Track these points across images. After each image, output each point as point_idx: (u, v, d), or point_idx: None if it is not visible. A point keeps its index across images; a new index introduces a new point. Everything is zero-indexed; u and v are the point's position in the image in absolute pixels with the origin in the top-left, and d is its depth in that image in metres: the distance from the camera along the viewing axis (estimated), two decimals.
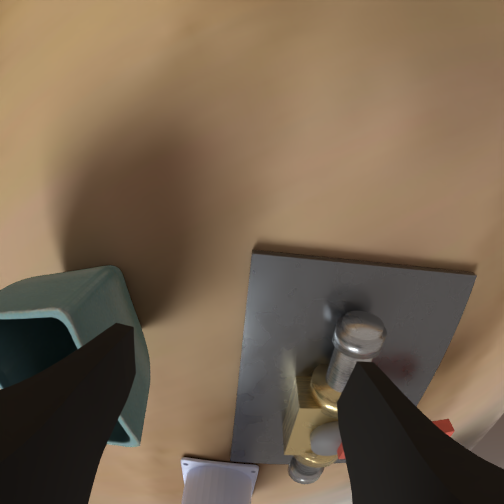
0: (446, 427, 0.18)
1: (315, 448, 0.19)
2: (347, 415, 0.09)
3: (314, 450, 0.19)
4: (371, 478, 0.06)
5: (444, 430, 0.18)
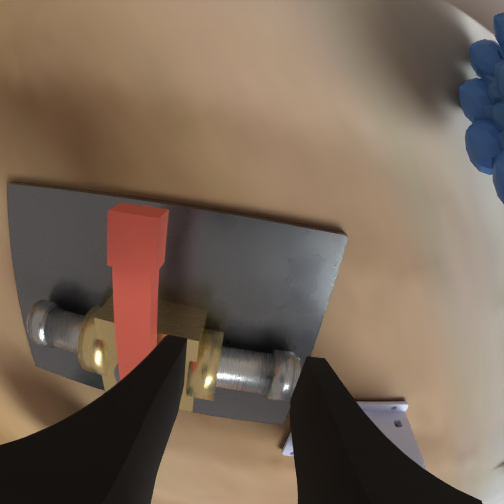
0: None
1: None
2: (297, 413, 0.09)
3: None
4: (312, 481, 0.06)
5: None
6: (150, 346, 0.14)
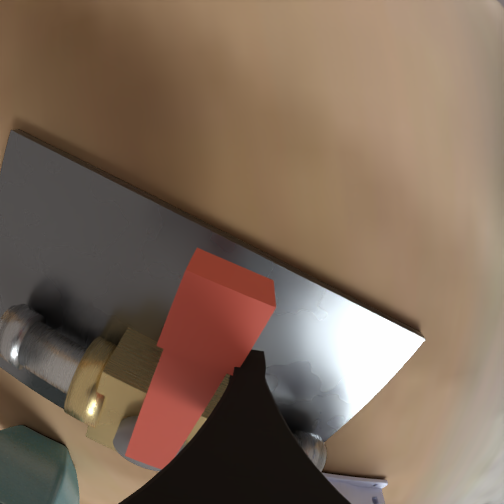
0: None
1: (151, 467, 0.12)
2: None
3: (157, 469, 0.12)
4: None
5: None
6: (185, 439, 0.09)
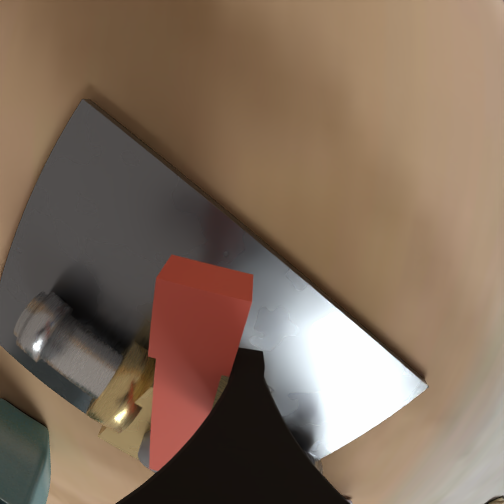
0: None
1: None
2: None
3: None
4: None
5: None
6: None
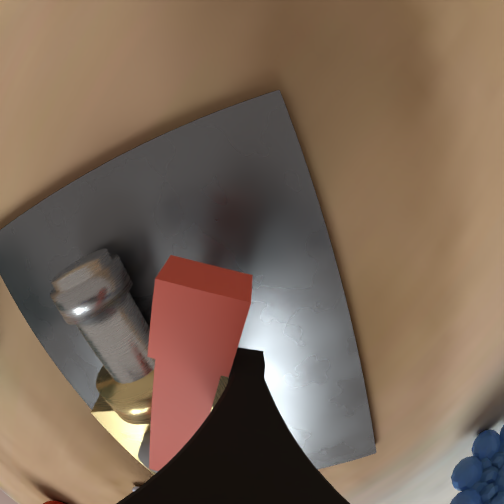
0: None
1: None
2: None
3: None
4: None
5: None
6: None
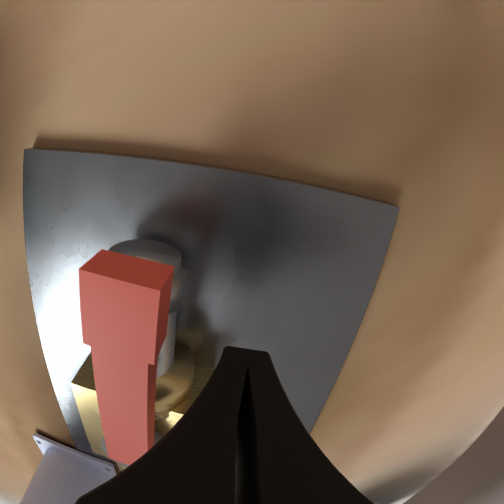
0: None
1: None
2: None
3: None
4: (241, 477, 0.06)
5: None
6: (147, 435, 0.10)
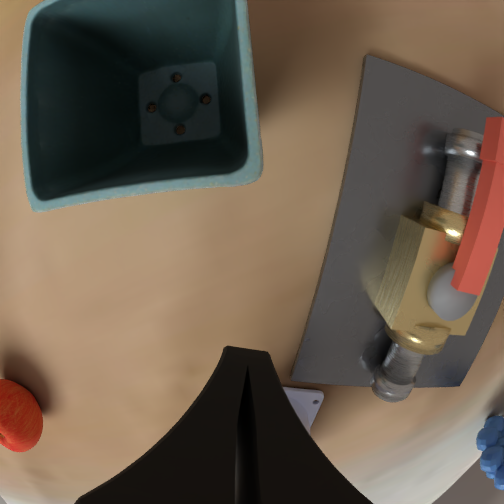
0: (494, 128, 0.11)
1: (454, 316, 0.15)
2: None
3: (458, 316, 0.15)
4: (241, 477, 0.06)
5: (496, 133, 0.11)
6: (497, 244, 0.13)
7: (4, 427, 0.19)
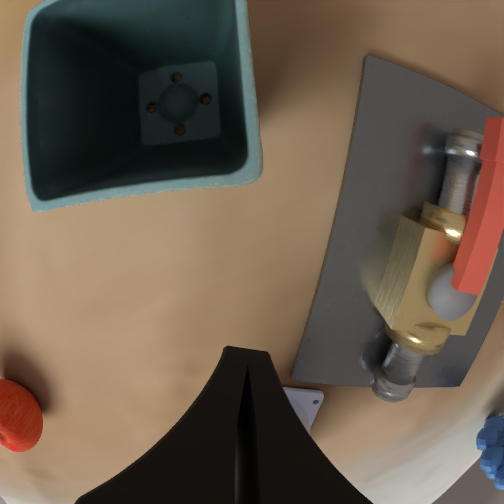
0: (494, 128, 0.11)
1: (454, 316, 0.15)
2: None
3: (458, 316, 0.15)
4: (241, 477, 0.06)
5: (496, 134, 0.11)
6: (497, 244, 0.13)
7: (4, 427, 0.19)
